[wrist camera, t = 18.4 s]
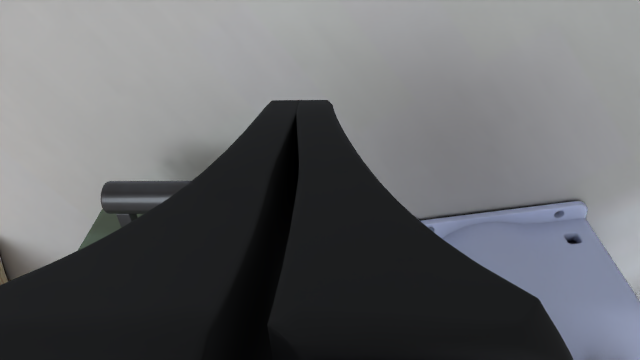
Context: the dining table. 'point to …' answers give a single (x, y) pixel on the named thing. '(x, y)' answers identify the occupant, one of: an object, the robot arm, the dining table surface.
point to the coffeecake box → (2, 274)
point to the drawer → (128, 204)
